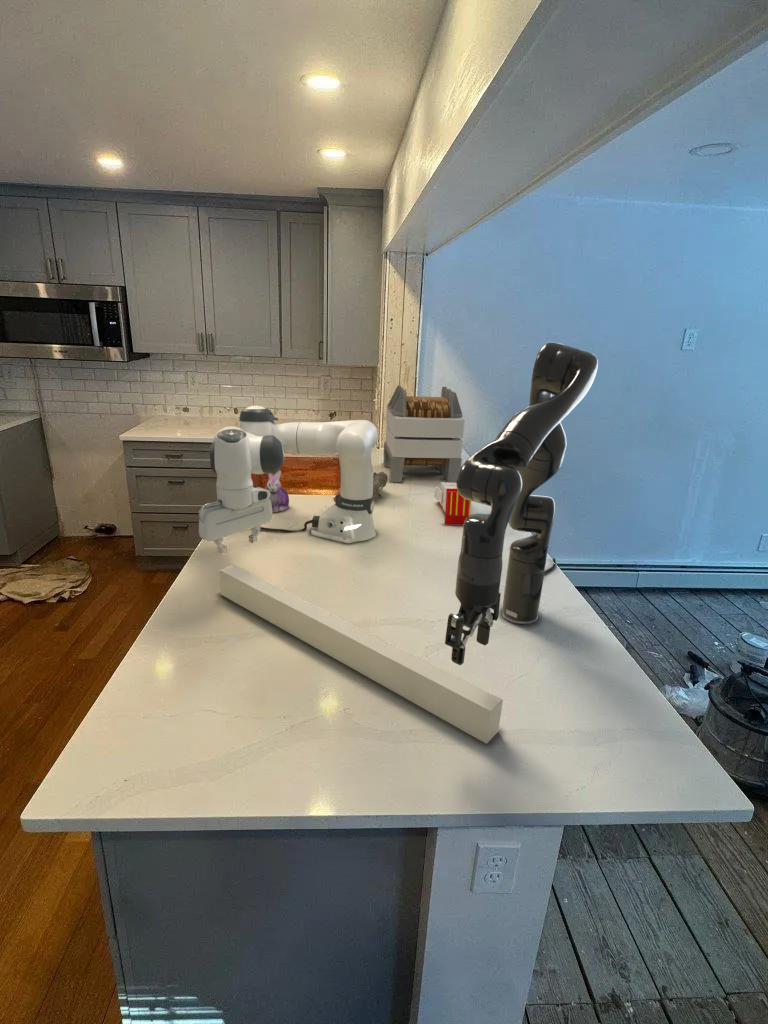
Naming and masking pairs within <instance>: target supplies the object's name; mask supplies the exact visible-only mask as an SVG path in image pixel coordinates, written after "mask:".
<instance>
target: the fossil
mask: <svg viewBox="0 0 768 1024" xmlns="http://www.w3.org/2000/svg"><path fill="white" fill-rule="evenodd" d="M388 476H389V475H388V474H387V473H385V472H383V471H379V472H376V471H374V472H373V496H374V498H376V496H377V495H378V496H379V497H380V498H382V495H381V494H380V493H381V491H382V490H383V488H385V487H386V486H387V483H388V478H389V477H388Z"/></svg>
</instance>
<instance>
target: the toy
mask: <svg viewBox="0 0 768 1024" xmlns="http://www.w3.org/2000/svg"><path fill="white" fill-rule="evenodd" d="M434 498H435V499H436V500H437V501H436V502H437V504H438V506H439V507H440V508H442V510H443V512H444V525H452V526H453V525H456V526H464V521H465V519H466V518H467V517H468V516H470V515H471V509H472V508H471V507H472V501H470V500H467V499H465V498H463V497H462V496H461V495H460V494H459V492H458V490H457V486H456V483H448V482H447V481H446V482H445V481H444V482H443V481H441V482H439V487H438V486H437V485H436V486H435V487H434Z"/></svg>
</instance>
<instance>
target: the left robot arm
mask: <svg viewBox="0 0 768 1024" xmlns="http://www.w3.org/2000/svg"><path fill="white" fill-rule="evenodd" d="M275 421H279V418H278V417H276V416H275V415H274V413H273V412H272V411H271V410H270V409H269V408H266V407H264V406H261V405H250V406H247V407H245V408H243V409H242V410H241V411H240V414H239V426H238V427H237V426H233V425H230V426H229V425H228V426H225V427H222V428H221V429H219V430H218V431H217V432H216V433H215V435H214V437H213V440H212V443H211V445H210V446H209V447H208V452H209V461H210V467H209V468H210V469H211V470H212V471H213V473H215V474H216V477H217V478H216V483H215V487H216V500H214V501H212V502H207V503H204V504H203V506H201V508H200V509H199V510H198V518H199V519H198V536H199V538H201V540H203V541H205V542H208V543H209V542H214V543H215V545H216V546H217V552H218V553H219V554H225V553H227V552H228V546H227V545H226V544H223V543H222V542H223V541H224V539H223V538H226V537H229V536H233V535H235V534H238V533H242V532H244V531H248V530H250V529H252V531H251V533H250V534H249V535H248V542H249V543H251V544H254V543H257V542H258V536H259V533H260V532H261V531H267V532H280V533H281V532H282V533H297V532H305V531H306V530H308V524H311V530H310V533H311V536H315V537H319V538H323V539H326V540H330V541H336V542H339V543H343V544H352V543H357V542H365V541H368V540H372V539H373V538H375V537H376V535H377V532H376V528H375V523H374V513H373V512H374V509H375V497H374V496H373V473H374V471H373V464H372V451H373V448H375V447H376V445H377V443H378V439H379V432H378V428H377V426H376V425H375V424H374V423H373V422H371V420H367V419H353V420H351V419H350V420H336V421H335V420H334V421H325V422H324V421H322V422H321V421H318V422H317V421H293V422H284V423H283V422H282V423H275ZM286 454H287V455H293V456H294V455H295V456H323V457H324V456H329V455H337V456H338V464H339V471H340V490H339V491H338V492H337V494H336V495H335V496H334V497H333V502H334V504H333V505H331V506H329V507H328V508H326V509H325V510H323V512H321V514H320V515H313V517H312V519H310V520H307V521H305V522H304V523H303V527H304V528H302V529H299V530H290V529H284V528H270V527H265V526H263V525H267V524H270V523H271V522H272V520H273V512H272V504H271V501H270V499H268V498H269V497H270V491H268V490H267V488H264V487H260V486H258V485H254V482H253V479H252V474H254V475H265V474H268V475H269V474H274V475H275V474H276V473H277V472H278V471H279V470H281V468H283V465H284V461H285V455H286Z"/></svg>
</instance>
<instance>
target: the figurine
mask: <svg viewBox="0 0 768 1024" xmlns="http://www.w3.org/2000/svg"><path fill="white" fill-rule="evenodd" d="M281 475H282V471H281V469H279V470H278V471H277V472H276V473H275V474H268V482H267V484H266V488H265V489H266V490H268V491H270V497H269V498H268V499H270V501H271V504H272V513H277V512H283V511H285V510H288V509H289V506H290V505H289V504H290V496H289V493H288V491H287V490H285V488H282V484H281V482H280V478H281Z"/></svg>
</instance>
